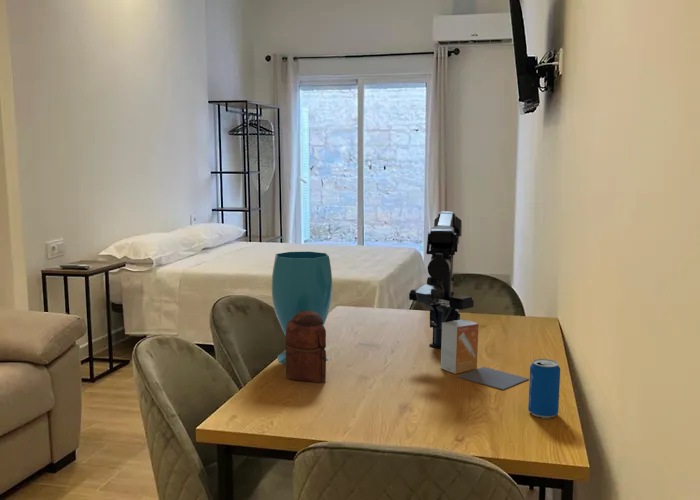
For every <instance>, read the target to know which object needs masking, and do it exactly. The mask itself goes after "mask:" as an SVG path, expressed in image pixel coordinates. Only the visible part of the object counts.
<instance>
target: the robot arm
mask: <svg viewBox="0 0 700 500" xmlns="http://www.w3.org/2000/svg"><path fill="white" fill-rule="evenodd" d="M433 222H434V223H433V227H431V229H430V231H429V232H428V233H427V242H426V255H431V257H430V261H429V262H428V265H427V273H428V275H429V276H428V277H427V279H426V284H424V285H422V286H421V287H419V288H415V289H410V291H409V293H408V295H409V296H408V300H409V301H414V302H417V303H419V304H420V303H423V304H424V306H427V308H428V309H429V328H431V329H432V342H431V343H429V345H428V346H430V347H432V348H433V347H434V348H435V349H440V350H441V340H442V323H443V322H449V321H455V320H461V314H460V313H459V310H460V311H461V310H467V309H470V308H474V302H475V301H474V298H473V297H472V296H468V295H462V294H460V295H456V296H454V295H455V293H454V292H455V291H453V282H455V276H453V272H454V271H453V270H454V256H455V255H456V253H457V252H458V249H459V248H458V245H459V243H460V237H462V232H463V225H462V224H463V223H462V220H461V219H460V218H459V217H458V216H457V215H456V212H454V211H444V210H443V211H442V210H441V211H439V212H438V216H437V217H436V218H435V219H434V221H433Z"/></svg>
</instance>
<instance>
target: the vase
mask: <svg viewBox="0 0 700 500" xmlns="http://www.w3.org/2000/svg"><path fill="white" fill-rule="evenodd" d="M273 262H274V263H273V267H272V274H271V275H272V276H271V298H272V305H273V310H274V312H275V315H276V318H277V320H278V322H279V325H280V327H281V329H282V332H283V334H284V336H285V337H286V326H287V323H288V321H290V320H292V318H293V317H294V316H295V315H296V314H297V313H299V312H301V311H314V312H316V313H317V314H319V315H320V316H321V317H322V319H323V324H322V325H323V326H324V327H325V324H326V320H327V318H328V316H329V313H330V309H331V304H332V300H333V299H332V298H333V275H332V266H331V260H330V255H328V253H327V252H318V251H317V252H316V251H286V252H281V253H280V252H279V253H275V257H274V261H273ZM277 360H278V363H282V364H285V365H286V349H285V350H283V352H282V353H280V354H278V355H277ZM326 361H328V358H327V357H326Z"/></svg>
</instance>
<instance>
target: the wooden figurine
mask: <svg viewBox="0 0 700 500" xmlns="http://www.w3.org/2000/svg"><path fill="white" fill-rule="evenodd" d="M322 324H323V319H322V317H321V316H320V315H319V314H317V313H316V312H314V311H301V312H299V313H297V314H296V315H295V316H294V317H293V318H292V320H290V321H288V323H287V326H286V336H285V350H286V364H285V377H286V378H287V379H290V380H293V381H299V382H300V381H301V382H302V381H303V382H310V383H311V382H312V383H319V384H320V383H321V384H322V383H326V379H327V376H326V375H327V360H326V358H327V350H326V347H327V333H326V332H327V331H326V328H325V325H324V326H323V325H322Z"/></svg>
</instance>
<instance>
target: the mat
mask: <svg viewBox="0 0 700 500" xmlns="http://www.w3.org/2000/svg"><path fill="white" fill-rule="evenodd" d="M457 378H459V379H462V380H467V381H470V382H473V383H475V384H476V383H477V384H480V385H483V386H487V387H490V388H494V389H498V390H501V391H505V390H507V389H510V388H512V387H515V386H516V385H519V384H522V383H524V382H526V381H530V378H529V377H524V376H521V375H516V374H514V373H509V372H505V371H501V370H498V369H494V368H491V367H486V366H480V367H477V369H476V370H471V371H466V372H463V373H462V374H459V375H457Z"/></svg>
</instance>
